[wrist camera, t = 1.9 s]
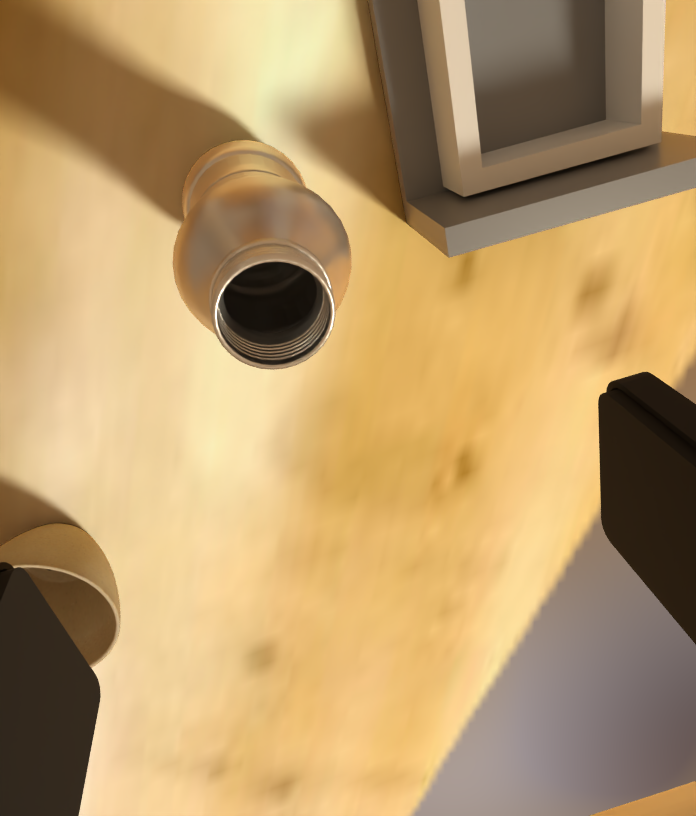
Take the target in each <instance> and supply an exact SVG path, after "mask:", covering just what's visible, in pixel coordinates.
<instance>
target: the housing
mask: <svg viewBox="0 0 696 816" xmlns="http://www.w3.org/2000/svg"><path fill="white" fill-rule="evenodd" d="M368 5H369V11H370V16H371V22H372V28H373V34H374V39H375V45H376V51H377V57H378V62H379V68H380V74H381V80H382V85H383V91H384V97H385V102H386V108H387V114H388V120H389V125H390V131H391V137H392V143H393V148H394V154H395V160H396V166H397V171H398V177H399V183H400V189H401V194H402V200H403V206H404V212H405V217H406V223H407V224H408V225H409V226H410V227H412V228H413V229H414V230H415V231H417V232H418V233H419V234H420V235H422V236H423V237H424V238H425V239H427V240H428V241H429V242H430V243H432V244H433V245H434V246H435V247H436V248H438V249H439V250H440V251H441V252H443V253H444V254H445V255H446V256H448V257H453V256H456V255H460V254H463V253H467V252H470V251H474V250H477V249H481V248H485V247H488V246H492V245H495V244H499V243H502V242H506V241H509V240H513V239H516V238H520V237H523V236H527V235H530V234H534V233H538V232H541V231H545V230H548V229H552V228H555V227H559V226H562V225H566V224H569V223H573V222H576V221H580V220H583V219H587V218H590V217H594V216H598V215H601V214H605V213H608V212H612V211H615V210H619V209H622V208H626V207H629V206H633V205H636V204H640V203H643V202H647V201H650V200H654V199H658V198H661V197H665V196H668V195H672V194H675V193H679V192H682V191H686V190H689V189H693V188H696V136H690V135H683V134H676V133H669V132H662V105H663V72H664V40H665V8H666V0H368Z"/></svg>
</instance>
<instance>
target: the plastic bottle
mask: <svg viewBox="0 0 696 816" xmlns="http://www.w3.org/2000/svg"><path fill="white" fill-rule="evenodd" d="M182 207H183V214H184V218H185V220H184V222H183V223H182V225H181V227H180V229H179V231H178V235H177V238H176V242H175V245H174V252H173V270H174V277H175V282H176V285H177V288H178V290H179V293H180V296H181V298H182V299H183V301H184V303H185V304H186V306H187V307H188V309H189V311H190V312H191V313H192V314H193V315H194V316H195V317H196V318H197V319H198V320H199V321H200V322H201V324H203V325H204V326H205V327H206V328H208V329H209V330H210V331H212V332H213V333H215V334H216V335H217V337H218V339H219V341H220V342H221V344H222V345H223V347H224V348H225V349H226V350H227V351H228V352H229V353H230V354H231V355H232V356H234V357H235V358H236V359H238V360H239V361H241V362H243V363H245V364H248V365H250V366H253V367H257V368H261V369H283V368H288V367H291V366H295V365H297V364H299V363H301V362H304V361H306V360H307V359H309V358H310V357H311V356H313V355H314V354H316V352H317V351H318V350H319V349H320V348H321V347H322V346H323V345H324V344H325V342H326V340H327V339H328V337H329V336H330V333H331V331H332V328H333V325H334V319H335V312H336V310H337V309H338V307H339V306H340V304H341V302H342V300H343V297H344V295H345V292H346V290H347V287H348V283H349V278H350V273H351V249H350V244H349V240H348V236H347V233H346V231H345V229H344V227H343V224H342V222H341V220H340V219H339V217H338V216H337V215H336V213H335V212H334V210H333V209H332V208H331V206H330V205H328V204H327V203H326V202H325V201H324V200H323V199H322V198H321V197H320V196H319V195H317V194H316V193H314V192H313V191H311V190H309V189H308V188H306V185H305V182H304V180H303V178H302V176H301V174H300V172H299V170H298V169H297V168H296V166H295V165H294V164H293V162H292V161H291V160H290V159H289V158H288V157H286V156H285V155H284V154H283V153H282V152H280V151H278V150H277V149H275V148H274V147H272V146H269V145H266V144H264V143H261V142H256V141H250V140H237V141H231V142H227V143H223V144H220V145H218V146H216V147H214V148H212V149H210V150H209V151H207V152H206V153H205V154H204V155H202V156H201V157H200V158H199V159H198V160H197V162H196V163H195V164H194V165H193V166H192V168H191V170H190V172H189V174H188V176H187V177H186V180H185V184H184V188H183V194H182Z"/></svg>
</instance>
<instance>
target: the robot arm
mask: <svg viewBox="0 0 696 816" xmlns="http://www.w3.org/2000/svg"><path fill="white" fill-rule="evenodd" d="M598 408H599V448H600V488H601V520H602V525H603V529H604V531H605V534H606V536H607V538H608V539H609V541H610V542H611V543H612V545H613V546H614V547H615V548H616V549H617V551H618V552H619V553H620V554H621V555H622V557H623V558H624V559H625V560H626V561H627V563H628V564H629V565H630V566H631V567H632V569H633V570H634V571H635V572H636V573H637V575H638V576H639V577H640V578H641V579H642V580H643V582H644V583H645V584H646V585H647V587H648V588H649V589H650V590H651V591H652V592H653V593H654V595H655V596H656V597H657V598H658V600H659V601H660V602H661V603H662V604H663V606H664V607H665V608H666V609H667V610H668V612H669V613H670V614H671V615H672V617H673V618H674V619H675V620H676V621H677V623H679V625H680V626H681V627H682V628H683V629H684V631H685V632H686V633H687V634H688V636H689V637H690V638H691V639H692V640H693V642H694V643H695V644H696V404H694V403H693V402H691V401H690V400H689V399H687V398H686V397H684V396H683V395H682V394H680V393H678V392H677V391H676V390H674V389H673V388H671V387H670V386H669V385H667V384H666V383H664V382H663V381H661V380H660V379H659V378H657V377H656V376H654V375H653V374H651V373H649V372H642V373H638V374H635V375H632V376H628V377H625V378H621V379H618V380H615V381H612V382H610V383H609V384H608V387H607V392H606V393H603V394H601V395H600V397H599V402H598ZM99 703H100V686H99V682H98V679H97V677H96V675H95V673H94V672H93V670H92V669H91V667H90V666H89V664H88V663H87V661H86V660H85V658H84V657H83V655H82V654H81V652H80V651H79V649H78V648H77V646H76V645H75V643H74V642H73V640H72V639H71V637H70V636H69V634H68V633H67V631H66V630H65V628H64V627H63V625H62V624H61V622H60V621H59V619H58V618H57V616H56V615H55V613H54V612H53V610H52V609H51V607H50V606H49V604H48V603H47V601H46V600H45V598H44V597H43V595H42V594H41V592H40V591H39V589H38V588H37V586H36V585H35V583H34V582H33V580H32V579H31V577H30V576H29V574H28V573H27V572H26V571H25V569H23V568H21V567H17V568H14V567H13V566H12V565H11V564H9V563H7V562H0V816H78V815H79V810H80V805H81V799H82V794H83V788H84V783H85V778H86V772H87V767H88V762H89V756H90V751H91V746H92V740H93V735H94V730H95V724H96V719H97V714H98V708H99ZM590 816H696V781H695V782H692V783H688V784H685V785H682V786H679V787H676V788H673V789H670V790H667V791H664V792H661V793H658V794H655V795H652V796H649V797H645V798H642V799H639V800H636V801H633V802H630V803H627V804H624V805H621V806H618V807H615V808H612V809H609V810H606V811H602V812H599V813H596V814H593V815H590Z"/></svg>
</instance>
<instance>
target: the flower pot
mask: <svg viewBox="0 0 696 816" xmlns="http://www.w3.org/2000/svg"><path fill="white" fill-rule="evenodd" d="M0 562H7V563H9V564H11V565H12V566H13V567H14V568H17V567H21V568H23V569H25V571H26V572H27V573H28V574H29V576H30V577H31V579H32V580H33V582H34V583H35V585H36V586H37V588H38V589H39V591H40V592H41V594H42V595H43V597H44V598H45V600H46V601H47V603H48V604H49V606H50V607H51V609H52V610H53V612H54V613H55V615H56V616H57V618H58V619H59V621H60V622H61V624H62V625H63V627H64V628H65V630H66V631H67V633H68V634H69V636H70V637H71V639H72V640H73V642H74V643H75V645H76V646H77V648H78V649H79V651H80V652H81V654H82V655H83V657H84V658H85V660H86V661H87V663H88V664H89V666H90V667H91V668H92V667H93V666H95V665H97V664H98V663H99V662H101V661H102V660H103V659H104V658H105V657H106V656H107V655H108V654H109V653H110V652H111V650H112V649H113V647H114V645H115V644H116V642H117V639H118V636H119V631H120V603H119V595H118V590H117V585H116V581H115V578H114V574H113V572H112V569H111V567H110V564H109V562H108V560H107V558H106V556H105V554H104V553H103V551H102V550H101V548H100V547H99V545H98V544H97V543H96V542H95V540H94V539H93V538H92V537H91V536H90V535H89V534H88V533H86V532H85V531H83V530H82V529H80V528H78V527H75V526H72V525H68V524H61V523H54V524H47V525H43V526H40V527H37V528H34V529H31V530H29V531H26V532H24V533H22V534H20V535H18V536H16V537H15V538H13V539H11V540H10V541H8V542H6V543H5V544H3V545H2V546H0Z"/></svg>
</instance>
